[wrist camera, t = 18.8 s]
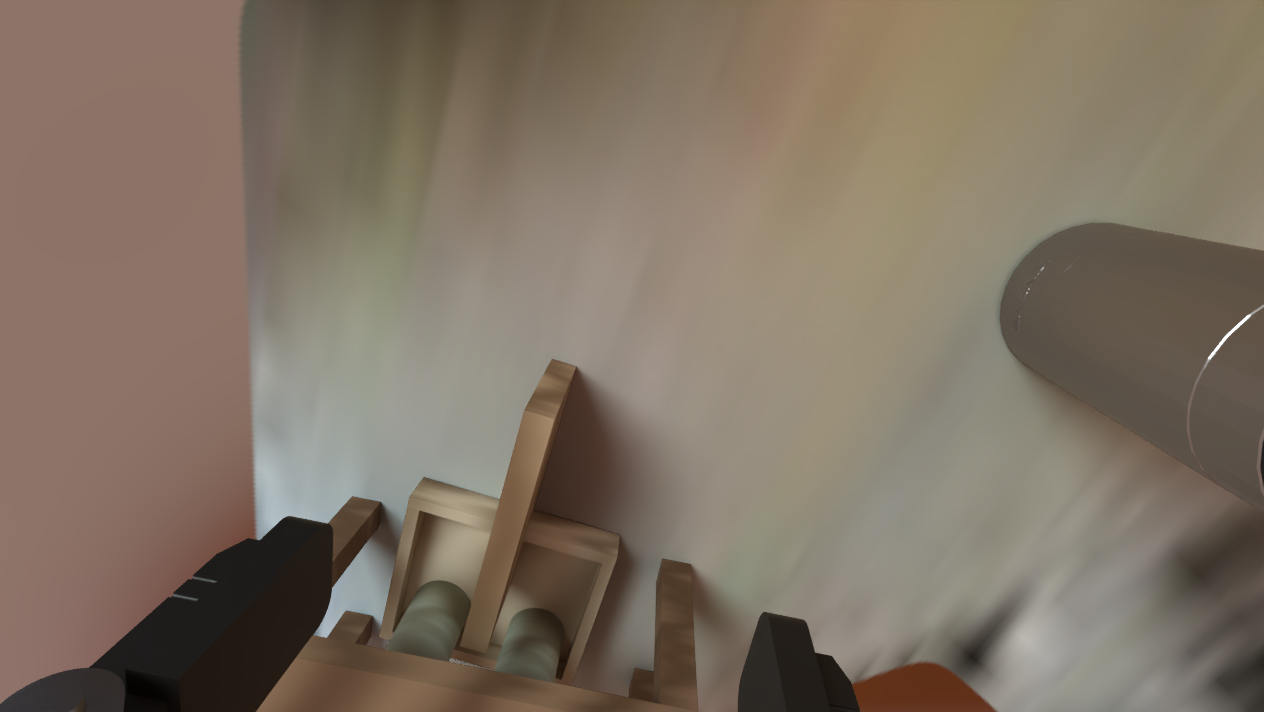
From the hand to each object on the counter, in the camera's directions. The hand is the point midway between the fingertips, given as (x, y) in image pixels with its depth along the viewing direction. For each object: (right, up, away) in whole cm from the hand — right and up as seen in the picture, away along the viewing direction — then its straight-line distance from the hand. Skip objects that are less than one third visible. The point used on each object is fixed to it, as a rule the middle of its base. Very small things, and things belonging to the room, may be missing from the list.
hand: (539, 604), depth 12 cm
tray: (-6, -6, +32) cm, 33 cm away
